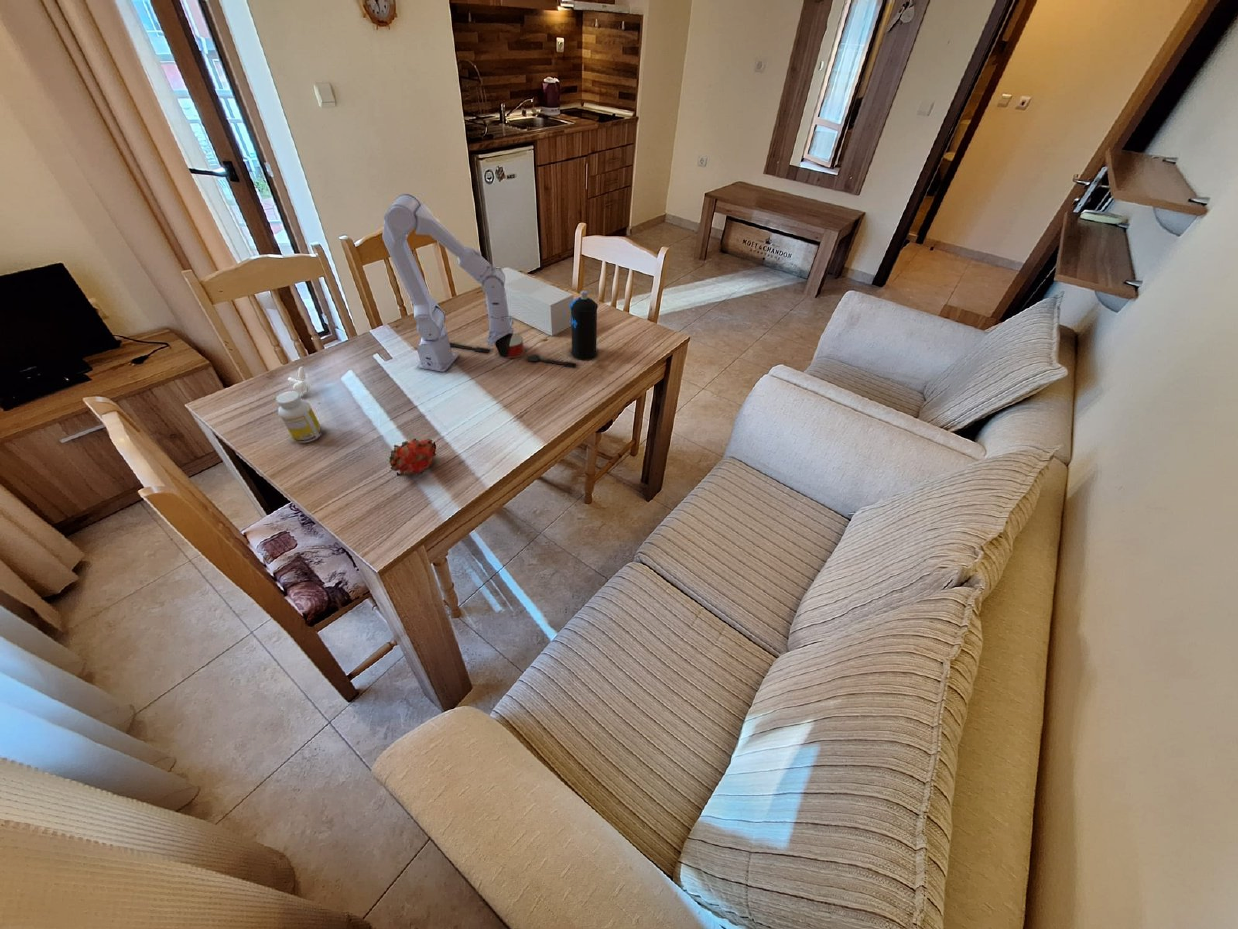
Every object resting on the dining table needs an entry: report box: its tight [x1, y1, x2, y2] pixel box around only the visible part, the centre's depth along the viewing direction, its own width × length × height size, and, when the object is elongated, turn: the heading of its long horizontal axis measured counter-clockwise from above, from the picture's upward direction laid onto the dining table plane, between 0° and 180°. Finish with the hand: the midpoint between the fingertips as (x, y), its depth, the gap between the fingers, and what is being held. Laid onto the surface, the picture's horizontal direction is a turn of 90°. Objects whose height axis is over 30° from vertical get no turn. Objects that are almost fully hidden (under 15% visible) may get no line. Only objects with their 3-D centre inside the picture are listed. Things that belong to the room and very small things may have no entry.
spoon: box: [527, 354, 577, 368], centre depth 145 cm, size 4×15×1 cm, turn 77°
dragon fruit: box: [388, 437, 437, 477], centre depth 108 cm, size 8×8×12 cm
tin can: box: [504, 332, 525, 359], centre depth 147 cm, size 8×8×4 cm
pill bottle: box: [275, 390, 323, 444], centre depth 113 cm, size 6×6×12 cm
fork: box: [449, 342, 491, 354], centre depth 149 cm, size 2×15×1 cm, turn 77°
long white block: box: [500, 266, 575, 337], centre depth 163 cm, size 32×11×11 cm, turn 51°
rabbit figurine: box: [287, 365, 309, 397], centre depth 128 cm, size 6×4×8 cm
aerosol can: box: [570, 289, 599, 361], centre depth 143 cm, size 8×8×20 cm
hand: (504, 355), depth 144 cm, fingers closed
